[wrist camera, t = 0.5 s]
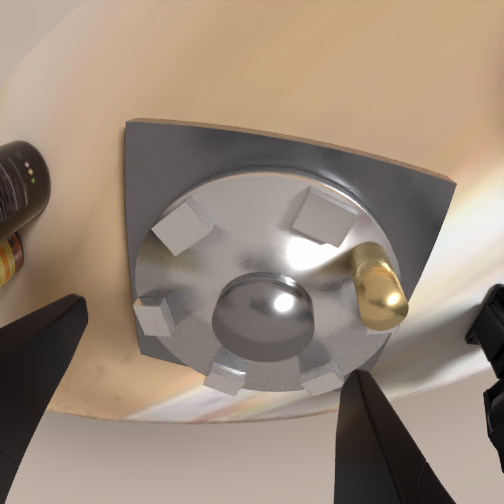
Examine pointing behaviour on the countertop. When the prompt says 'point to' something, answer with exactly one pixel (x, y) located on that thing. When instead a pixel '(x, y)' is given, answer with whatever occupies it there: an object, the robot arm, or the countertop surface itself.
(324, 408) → the countertop surface
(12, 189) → the supplement bottle
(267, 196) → the lugged silver disc
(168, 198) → the flat gray square plate
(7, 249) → the sauce bottle
